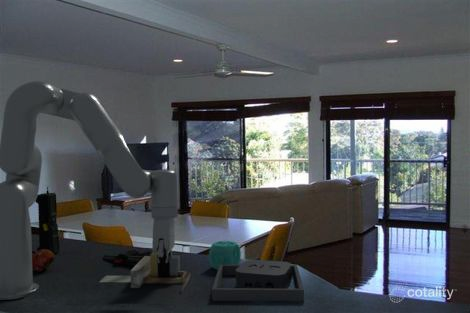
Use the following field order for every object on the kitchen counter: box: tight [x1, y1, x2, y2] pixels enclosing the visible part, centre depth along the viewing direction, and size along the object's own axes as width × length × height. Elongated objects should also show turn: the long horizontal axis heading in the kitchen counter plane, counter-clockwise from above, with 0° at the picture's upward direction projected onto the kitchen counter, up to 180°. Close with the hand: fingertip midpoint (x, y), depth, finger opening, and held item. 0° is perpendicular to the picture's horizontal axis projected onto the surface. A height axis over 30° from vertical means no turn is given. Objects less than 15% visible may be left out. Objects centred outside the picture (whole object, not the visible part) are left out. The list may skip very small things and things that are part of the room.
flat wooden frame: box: [98, 256, 191, 294], centre depth 139 cm, size 26×16×6 cm, turn 87°
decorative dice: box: [208, 240, 242, 271], centre depth 156 cm, size 8×8×8 cm
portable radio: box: [35, 186, 60, 255], centre depth 175 cm, size 8×6×25 cm
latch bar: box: [150, 251, 181, 278], centre depth 139 cm, size 8×4×7 cm, turn 87°
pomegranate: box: [32, 249, 56, 273], centre depth 154 cm, size 7×7×10 cm
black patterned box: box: [102, 249, 153, 267], centre depth 160 cm, size 5×20×15 cm
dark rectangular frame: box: [211, 264, 305, 302], centre depth 135 cm, size 24×24×3 cm
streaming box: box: [235, 259, 292, 289], centre depth 138 cm, size 14×14×5 cm
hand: (165, 273), depth 139 cm, fingers closed on latch bar, 3 cm apart
